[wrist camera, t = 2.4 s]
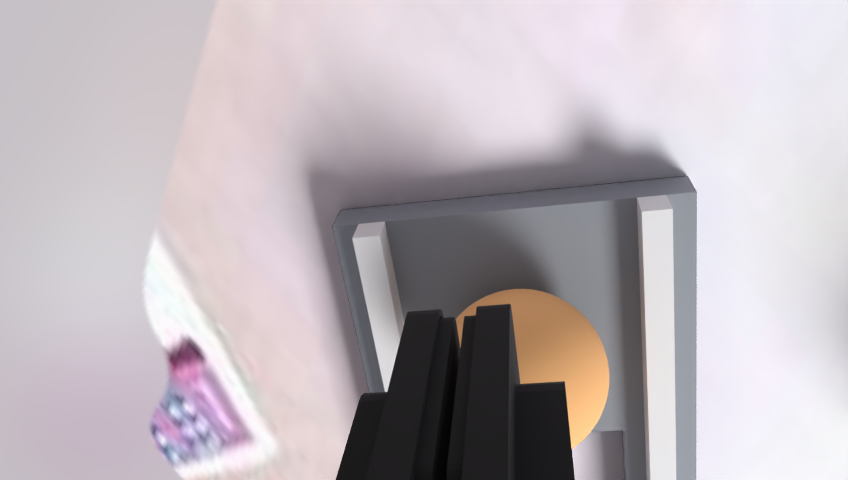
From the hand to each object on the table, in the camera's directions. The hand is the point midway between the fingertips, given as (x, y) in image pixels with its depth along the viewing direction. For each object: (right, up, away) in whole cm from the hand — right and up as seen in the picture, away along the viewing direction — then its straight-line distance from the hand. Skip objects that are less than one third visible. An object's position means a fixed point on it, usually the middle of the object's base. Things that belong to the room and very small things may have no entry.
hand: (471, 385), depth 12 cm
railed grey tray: (+4, -5, +20) cm, 21 cm away
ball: (+3, -2, +14) cm, 15 cm away
